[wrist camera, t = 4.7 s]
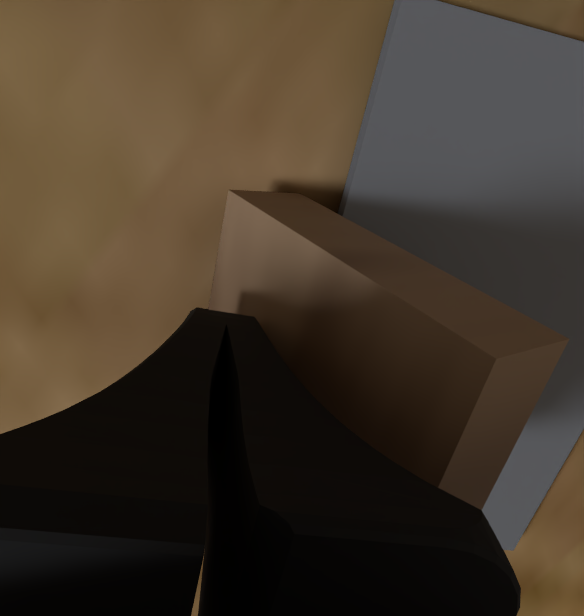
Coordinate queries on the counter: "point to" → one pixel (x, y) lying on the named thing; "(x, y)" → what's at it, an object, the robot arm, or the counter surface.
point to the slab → (386, 338)
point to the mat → (486, 196)
